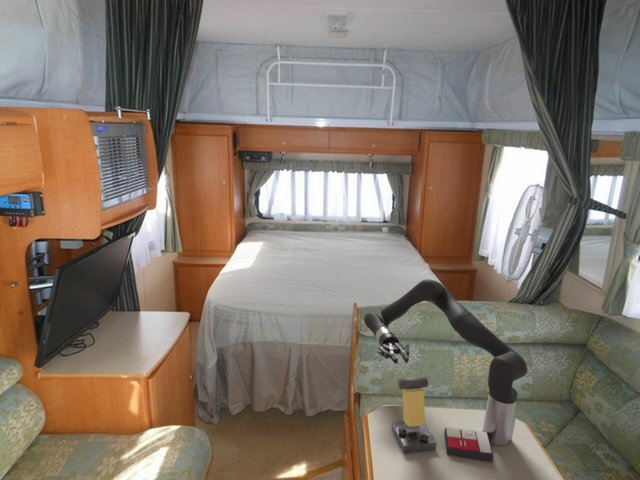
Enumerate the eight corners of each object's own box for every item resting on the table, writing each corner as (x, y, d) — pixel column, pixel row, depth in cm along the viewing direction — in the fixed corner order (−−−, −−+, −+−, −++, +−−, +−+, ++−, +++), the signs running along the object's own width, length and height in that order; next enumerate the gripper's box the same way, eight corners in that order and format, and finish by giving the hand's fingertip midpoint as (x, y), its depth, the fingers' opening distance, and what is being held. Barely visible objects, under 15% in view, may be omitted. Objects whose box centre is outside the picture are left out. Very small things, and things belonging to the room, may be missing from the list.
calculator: (444, 425, 156) (487, 430, 153) (444, 435, 157) (486, 440, 154) (447, 446, 146) (493, 452, 143) (446, 457, 147) (492, 463, 144)
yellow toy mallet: (424, 424, 155) (422, 375, 156) (430, 430, 150) (428, 378, 151) (398, 427, 153) (397, 377, 154) (403, 432, 149) (402, 380, 149)
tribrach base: (421, 426, 160) (422, 416, 159) (435, 449, 149) (437, 439, 148) (391, 429, 158) (392, 419, 157) (403, 453, 146) (404, 443, 145)
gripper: (371, 332, 177) (385, 353, 160) (403, 330, 179) (420, 351, 163) (370, 348, 179) (383, 371, 162) (402, 346, 181) (418, 368, 165)
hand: (402, 361), depth 163 cm, fingers open, 3 cm apart
